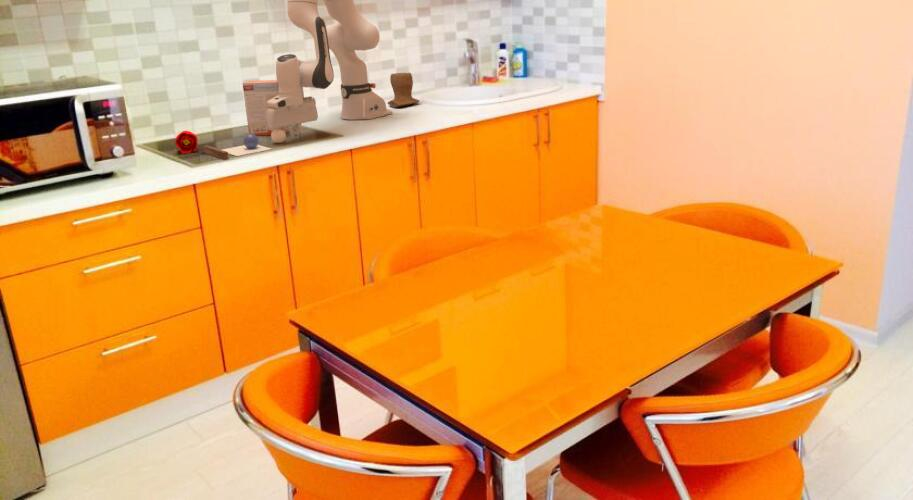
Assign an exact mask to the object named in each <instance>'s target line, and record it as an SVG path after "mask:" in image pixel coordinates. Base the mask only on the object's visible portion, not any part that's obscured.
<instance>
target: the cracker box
mask: <svg viewBox="0 0 913 500" xmlns="http://www.w3.org/2000/svg"><path fill="white" fill-rule="evenodd" d="M278 89H279V85H278V82H277V79H267V80H265V79H263V80H247V81H246V80H245V82H242V91H243V97H244V105H245V112H246V113H245V114H246V122H247V127H248V134H254V135H256V136H271V133H272V131H273V130H274V129H277V128H271V127H269V126H268V123H267V110H268V108H269V106H268V105H267V101H269V100H270V99H272V98H274V97H276V96H277V95H278ZM278 128H279V129H282V130H284V132H285V133H286V134H287V132H288V129H287V126H283V127H278Z"/></svg>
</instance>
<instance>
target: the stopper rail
mask: <svg viewBox="0 0 913 500" xmlns="http://www.w3.org/2000/svg"><path fill="white" fill-rule="evenodd" d="M203 151H204V152H203V153H204V154H206V155H209V156H213V157H216V158H218V159H222V160H225V161H226V160H229V159H230V157H229V154H228V152H226V151H223V150H222V149H220V148H216V147H214V146H210V145H203Z"/></svg>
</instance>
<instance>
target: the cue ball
mask: <svg viewBox="0 0 913 500" xmlns="http://www.w3.org/2000/svg"><path fill="white" fill-rule="evenodd" d="M270 137H271V140H272V142H274V143H276V144H282V143H283V142H285V140H286V139H287V132H286V133H285V132H284V130H282V129H279V128H277V129H274V130H273V131H272V133H271V135H270Z"/></svg>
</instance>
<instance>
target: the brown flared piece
mask: <svg viewBox="0 0 913 500" xmlns="http://www.w3.org/2000/svg"><path fill="white" fill-rule="evenodd" d="M389 77H390V78H389V79H390V80H389V81H390V84H391V87H392V90H393V91H392V92H393V94H394V98H393V99H390V100H389V101H388V102H387V104H388V106H390V107H391V108H395V109H396V108H400V107H401V108H402V107H406V106H410V105H414V104H417V103H419V102H420V100H419V99H418V98H414V97H413V95H412V93H413V92H412V91H413V87H414V86H413V85H414V81H413V75H412V73H411V72H395V73H391V74H390V76H389Z"/></svg>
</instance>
